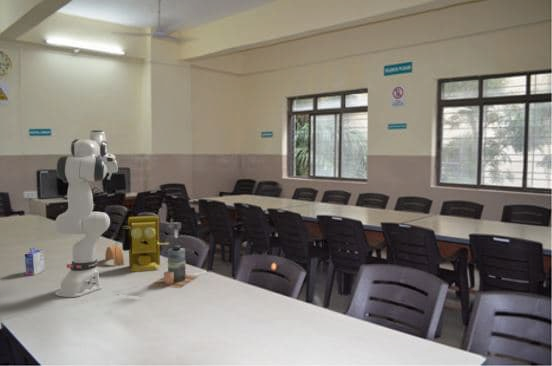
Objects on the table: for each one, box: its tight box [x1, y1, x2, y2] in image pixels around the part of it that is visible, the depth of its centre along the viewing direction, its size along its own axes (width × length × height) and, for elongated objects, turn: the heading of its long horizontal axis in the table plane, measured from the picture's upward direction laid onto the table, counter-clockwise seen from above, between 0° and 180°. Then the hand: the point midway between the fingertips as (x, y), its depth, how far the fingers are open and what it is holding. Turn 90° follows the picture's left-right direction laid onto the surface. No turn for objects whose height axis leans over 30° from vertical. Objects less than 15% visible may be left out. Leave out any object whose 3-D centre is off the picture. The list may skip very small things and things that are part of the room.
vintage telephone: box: [115, 215, 170, 273], centre depth 268 cm, size 31×14×30 cm, turn 105°
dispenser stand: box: [149, 244, 200, 289], centre depth 239 cm, size 22×18×20 cm
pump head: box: [166, 221, 182, 239], centre depth 237 cm, size 10×4×8 cm, turn 164°
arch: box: [104, 245, 125, 267], centre depth 283 cm, size 6×20×10 cm, turn 35°
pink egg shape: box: [163, 270, 174, 285], centre depth 233 cm, size 5×5×6 cm
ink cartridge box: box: [24, 246, 45, 276], centre depth 259 cm, size 10×6×14 cm, turn 174°
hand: (100, 179), depth 266 cm, fingers open, 8 cm apart
